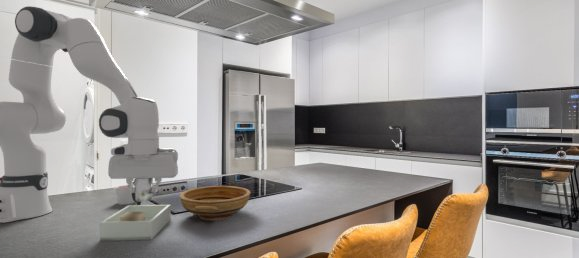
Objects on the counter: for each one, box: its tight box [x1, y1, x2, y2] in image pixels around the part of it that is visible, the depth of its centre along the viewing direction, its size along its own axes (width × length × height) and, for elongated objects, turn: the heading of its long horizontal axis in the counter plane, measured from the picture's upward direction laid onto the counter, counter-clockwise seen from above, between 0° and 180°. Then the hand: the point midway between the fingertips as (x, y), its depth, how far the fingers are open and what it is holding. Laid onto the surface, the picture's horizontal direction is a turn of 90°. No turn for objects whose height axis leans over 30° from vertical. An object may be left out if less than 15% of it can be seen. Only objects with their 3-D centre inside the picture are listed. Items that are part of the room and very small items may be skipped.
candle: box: [113, 184, 137, 206], centre depth 124 cm, size 9×9×6 cm
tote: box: [99, 204, 172, 242], centre depth 93 cm, size 18×14×5 cm
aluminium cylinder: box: [134, 178, 154, 203], centre depth 97 cm, size 5×5×7 cm
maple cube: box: [120, 212, 145, 221], centre depth 89 cm, size 5×5×5 cm
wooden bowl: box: [178, 185, 252, 221], centre depth 108 cm, size 30×24×8 cm
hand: (144, 192), depth 97 cm, fingers closed on aluminium cylinder, 5 cm apart
